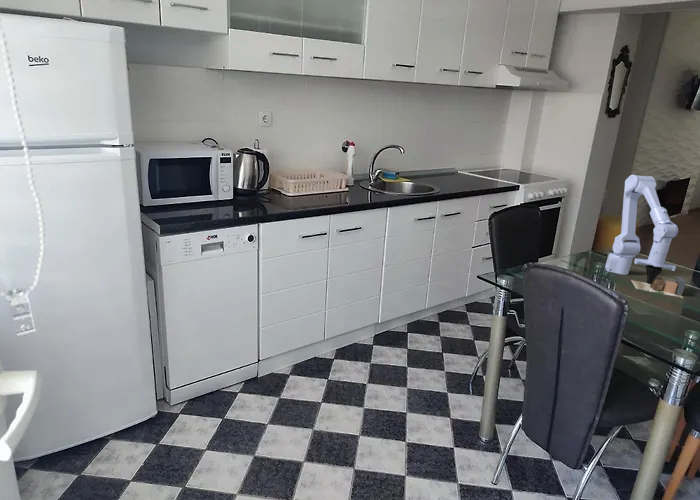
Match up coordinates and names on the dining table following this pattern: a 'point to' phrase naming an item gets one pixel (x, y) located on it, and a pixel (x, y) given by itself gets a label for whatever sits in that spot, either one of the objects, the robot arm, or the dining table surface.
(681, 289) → the grey flat block
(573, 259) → the dining table surface
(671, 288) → the peach matte cube
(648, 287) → the gauge board
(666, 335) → the dining table surface
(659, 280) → the brown box with peg
